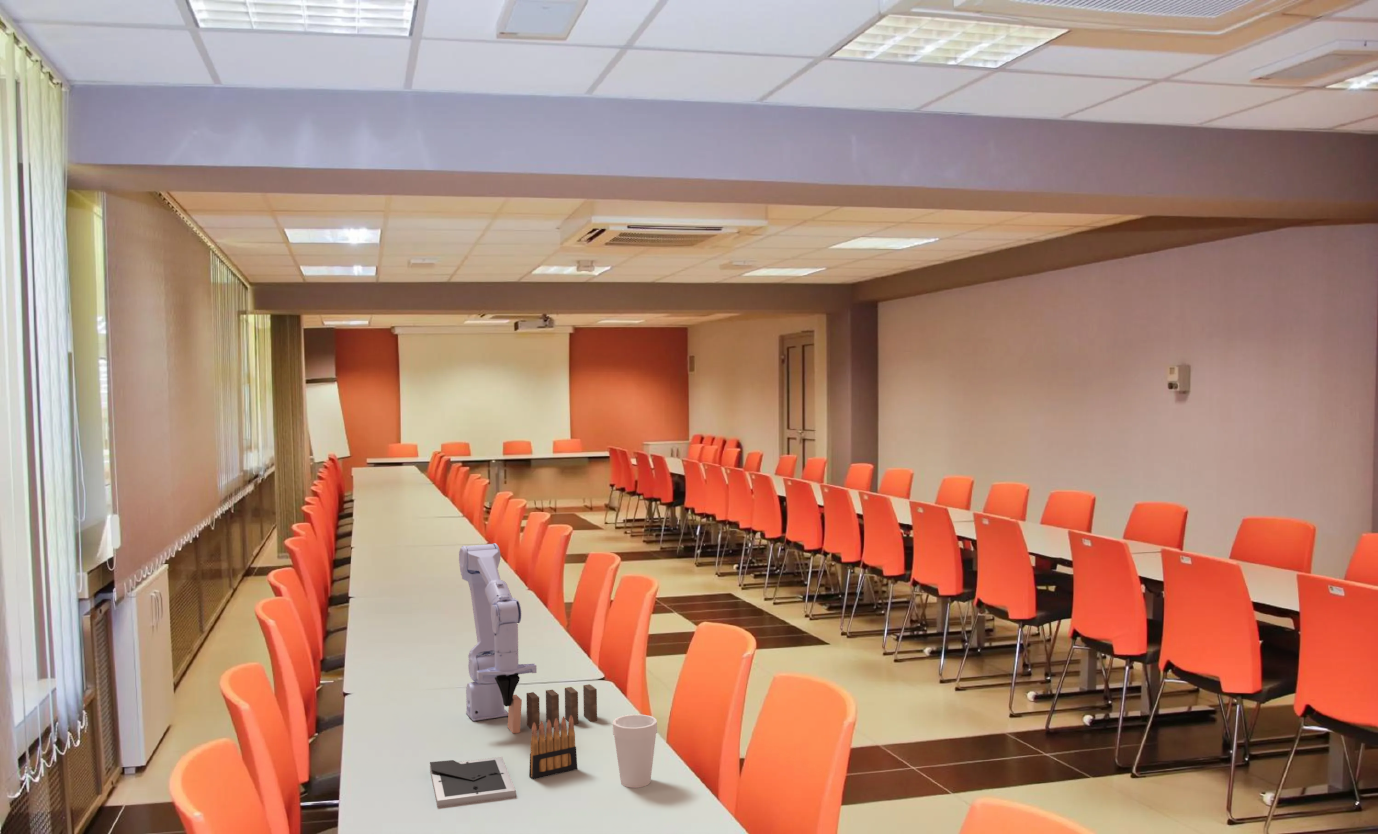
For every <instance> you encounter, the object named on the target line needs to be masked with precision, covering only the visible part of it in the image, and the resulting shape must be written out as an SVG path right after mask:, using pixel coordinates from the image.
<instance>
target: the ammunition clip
mask: <svg viewBox="0 0 1378 834" xmlns="http://www.w3.org/2000/svg"><path fill="white" fill-rule="evenodd" d="M552 729H553V730H552ZM545 733H546V734H545ZM577 770H578V754H577V746H576V732H575V724H574V722H573V717H572V715H570V718H569V722H568V727H567V720H566V719H565V715H564V716H562V718H561V725H560V722H559V723H558V720H557V718H556V719H555V722H554V727H553V728H552V726H551V722H550V720H548V722H546V732H545V725H544V723H543V720H540V726H539V730H537V728H536V724H535V722H534V723H533V726H532V729H531V736H530V754H529V771H528V773H529V775H528V776H529V778H531V779H532V780H537V779H541V778H545V777H550V776H554V775H558V774H563V773H567V772H572V771H577Z"/></svg>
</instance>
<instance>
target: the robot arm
mask: <svg viewBox="0 0 1378 834" xmlns="http://www.w3.org/2000/svg"><path fill="white" fill-rule="evenodd" d="M500 562H501V549H500V547H499V545H498V544H497V543H488V544H476V545H462V546H461V547H460V548H459V552H458V563H459V570H460V575H461V579H462V580H464V581H466V582H467V583H468V586H469V592H470V597H471V607H472V611H473V618H474V619H473V620H474V628H475V634H476V641H477V643H476V645H474V646H473V647H472V648H471V649H470V650H469V652H468V654H467V655H468V656H467V657H468V674H469V675H468V676H469V677H470V679H471V680H472V682H468V683H467V684H466V686H465V688H466V690H465V694H466V695H465V696H466V699H465V703H466V711H465V713H466V714H467V716H468V717H469V718H470V720H471V721H473V722H474V721H482V720H483V721H484V720H487V719H488V720H489V719H495V718H502V717H508V711H507V710H506V709H505V707H509V706H511V702H512V698H513V695H515V691H516V688H517V686H518V684H519V683H520V678H521V677H520V675H524V674H537V669H538V668H537V664H535V663H522V664H521V663H519V624H520V623H521V620H522V607H521V604H520V601H519V599H516V597H513V596H512V594H511V591H510V589H509V586H508V584H507V583H506V581H505V580H503V579H501V576H500V572H499V565H500Z"/></svg>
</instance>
